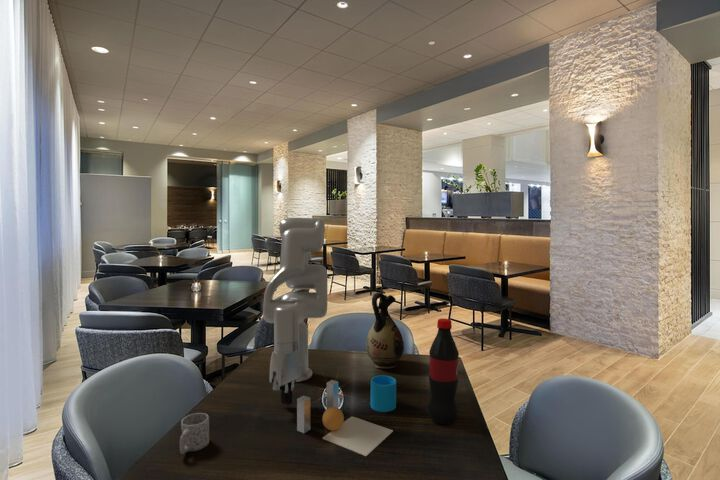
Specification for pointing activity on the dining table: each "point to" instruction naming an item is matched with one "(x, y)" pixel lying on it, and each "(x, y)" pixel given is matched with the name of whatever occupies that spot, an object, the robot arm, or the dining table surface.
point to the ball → (333, 418)
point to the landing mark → (358, 435)
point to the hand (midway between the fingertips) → (286, 403)
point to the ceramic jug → (384, 335)
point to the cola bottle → (443, 375)
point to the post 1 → (303, 414)
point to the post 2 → (332, 393)
